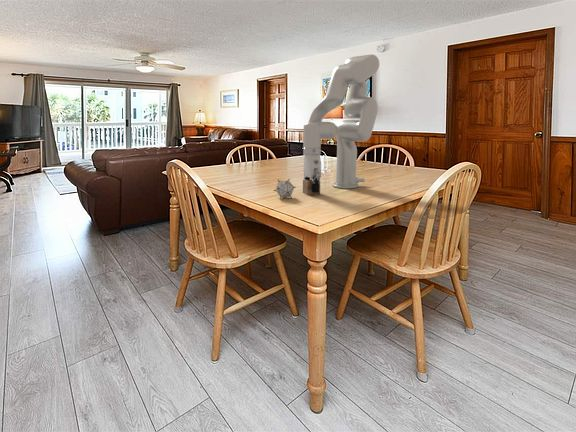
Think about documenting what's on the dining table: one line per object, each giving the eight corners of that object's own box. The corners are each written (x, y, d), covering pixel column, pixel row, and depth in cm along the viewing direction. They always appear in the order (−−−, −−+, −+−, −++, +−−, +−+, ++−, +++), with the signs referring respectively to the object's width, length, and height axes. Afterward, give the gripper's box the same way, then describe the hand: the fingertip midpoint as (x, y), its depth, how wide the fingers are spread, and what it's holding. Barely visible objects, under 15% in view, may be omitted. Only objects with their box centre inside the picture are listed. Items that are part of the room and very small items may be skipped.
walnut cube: (314, 191, 166) (315, 179, 164) (319, 194, 160) (320, 181, 158) (302, 192, 164) (302, 179, 162) (307, 195, 158) (307, 182, 157)
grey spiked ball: (288, 207, 153) (292, 191, 145) (269, 199, 154) (273, 183, 146) (295, 193, 159) (300, 177, 151) (277, 186, 159) (281, 170, 152)
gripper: (327, 153, 150) (326, 193, 155) (312, 149, 166) (312, 186, 171) (311, 153, 148) (310, 194, 153) (297, 150, 164) (297, 187, 168)
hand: (311, 190), depth 162 cm, fingers open, 9 cm apart
